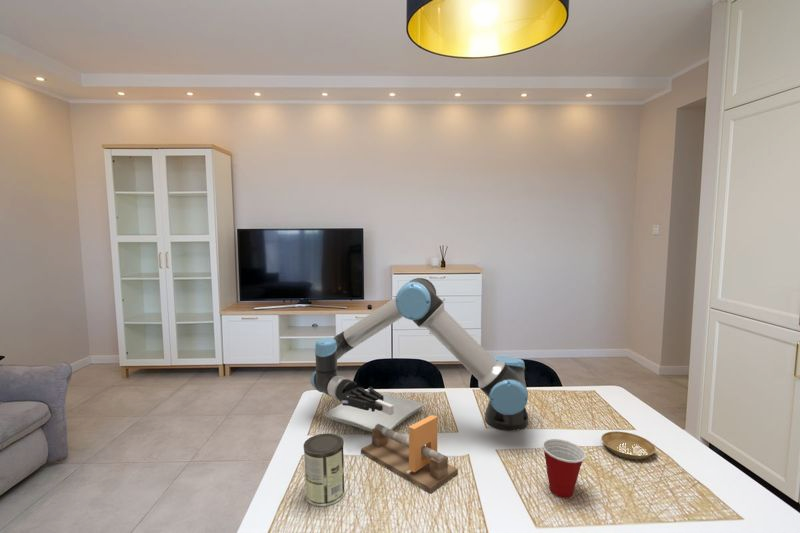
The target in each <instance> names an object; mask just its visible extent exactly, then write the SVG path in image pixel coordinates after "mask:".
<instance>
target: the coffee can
mask: <svg viewBox="0 0 800 533" xmlns="http://www.w3.org/2000/svg"><path fill="white" fill-rule="evenodd" d="M344 444H345V443H344V439H343V438H342V436H340V435H338V434H335V433H327V432H326V433H320V434H315V435H312V436H310V437H309V438H307V439H306V440H305V441H304V443H303V453H304V454H303V455H304V458H303V459H304V479H305V480H304V481H305V482H304V483H305V484H304V485H305V500H306V501H307V503H309V504H310V505H312V506H315V507H328V506H331V505H334V504H336V503H338V502H339V501H341V500H342V499H343V497H344V495H345V492H346V491H345V466H344V465H345V463H344V462H345V461H344Z"/></svg>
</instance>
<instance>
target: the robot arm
mask: <svg viewBox="0 0 800 533" xmlns="http://www.w3.org/2000/svg"><path fill="white" fill-rule="evenodd" d="M402 318H404V319H407V320H409V321H413V323H414V324H415V325H416V326H418V328H426V329H427V330H428V332H430V333H431V334H432V335H433V336H434V337H435V338H436V339H437V340H438V341H439V342H440V343H441V345H443V346H444V347H445V349H446V350H448V351H449V353H451V354H452V355H453V356H454V358H456V360H458V361H459V362H460V364H461V365H463V366H464V368H466V370H467V371H468V372H470V374H471V375H473V377H475V379H477V381H478V382H477V383H478V388H479V389H480V390H481V391H482V393H484V394H485V395H486V397H488V399H489V400H488V404H487V406H486V409H485V412H484V421H485V422H486V424H488V425H489V426H491V427H493V428H495V429H499V430H503V431H520V430H523V429H525V428H527V427H528V425H529V415H528V411H527V408H526V407H527V404H528V399H529V392H528V389H527V384H526V380H525V370H526V366H525V361H524V360H523V359H521V358H518V357H514V356H495V357H493V356H492V355H491V354H490V353H489V352H487V350H486V349H485V348H484V347H483V346H482V345H481V344H480V343H479V342H478V341H477V340H475V339H474V337H473V336H471V334H469V332H468V331H467V330H466V329H465V328H463V327H462V326H461V324H460V323H459V322H457V320H455V319H454V317H452V316H451V315H450V313H449V312H448V311H446V309H445V302H444V301H443V300H442V299H441V298H440V297H439V296H438V295H437V290H436V287H435V286H434V284H433V283H432V282H431V281H430V280H429V279H426V278H423V277H417V278H413V279H412V280H410V281H408V282H406V283H405V284H403V285H402V286H401V287H400V288H399V290H398V291H397V293H396V296H395V297H394V298H392V299H390V300H388V302H386V303H385V304H383V305H381V306H380V307H378V308H377V309H375V310H374V311H372V312H371V313H369V314H368V315H366V316H365V317H363V318H361V319H360V320H358V321H357V322H355V323H353V325H350V326H349V327H347V328H345V330H343V331H342V332H340V333H338V334H336V335H335V336H334V337H322V338H318V339H317V340H316V341H315V347H314V348H315V349H314V353H315V354H314V355H315V371H314V372H312V374H311V375H312V376H311V377H310V384H311V386H312V387H313V389H315V390H316V391H318V392H320V393H322V394H324V395H327V396H329V397H332V398H333V399H336V400H338V401H340V402H342V403H341V404H342V405H345V406H351V407H355V408H359V409H363V410H367V411H368V410H369V409H372V412H374V411H375V409H376V410H378V411H381V412H384V413H386V414H388V415H392V414H394V405H392V404H389V403H387V402H385V401H384V399H383V396H382V395H381V394H380V393H378V392H379V391H377V390H375V389H374V387H373V386H369V387H368V388H367V389H365V388H364V387H360V386H359V384H358V383H357V382H356V381H353V380H351V379H349V378H346V377H344V376H340V375H339V374H338V360H339V359H340V358H342V356H344V355H345V354H346V353H348V352H349V351H352V350H353V349H354V348H356V347H357V346H359V345H360V344H362V343H364V342H365V341H367V340H368V339H370V338H372V337H373V336H374V335H375V336H376V335H377V334H379V332H381V331H383V330H384V329H387V327H390V326H391V325H392V324H394V323H395V322H397V321H399V320H401V319H402Z"/></svg>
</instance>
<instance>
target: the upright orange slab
mask: <svg viewBox="0 0 800 533" xmlns="http://www.w3.org/2000/svg"><path fill="white" fill-rule="evenodd" d="M408 438H409V470H411V471H412V472H416V471H418V470H419V469H421V468H422V467H424V466H425V465H427V464H429V463H430V458H428V457H426V456H424V455H422V456H421V447H422V446H424V445H425V446H426V447H428V448H430V449H432V450H434V451H436V452H438V416H436V415H434V414H431V415H429V416H427V417H424V418H422V419H421V420H419V421H417V422H415V423H413V424H411V425H410V426H408Z"/></svg>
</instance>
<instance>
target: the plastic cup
mask: <svg viewBox="0 0 800 533" xmlns="http://www.w3.org/2000/svg"><path fill="white" fill-rule="evenodd" d="M541 446H542V449H543V453H544V460H545V467H546V473H547V474H546V475H547V478H548V485H549V490H550V492H551V493H552V494H553V495H554V496H557V497H558V498H564V499H565V498H567V499H568V498H570V497H572V496H573V495H574V493H575V488H576V484H577V483H578V482H577V481H578V478H579V474H580V470H581V466H582V464H583V462H584V460H585V459H587V453H586V452H585V450H584V449H583V448H582V447H581V446H580V445H578V444H576V443H573V442H571V441H569V440H565V439H561V438H548V439H545V440H544V441H543V442H542V445H541Z"/></svg>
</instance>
